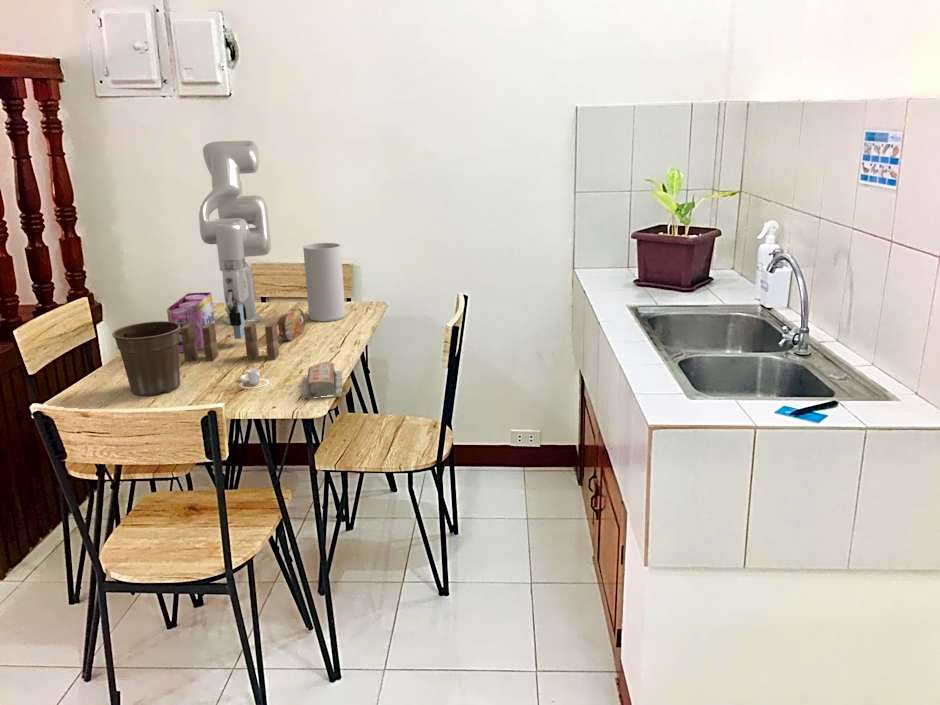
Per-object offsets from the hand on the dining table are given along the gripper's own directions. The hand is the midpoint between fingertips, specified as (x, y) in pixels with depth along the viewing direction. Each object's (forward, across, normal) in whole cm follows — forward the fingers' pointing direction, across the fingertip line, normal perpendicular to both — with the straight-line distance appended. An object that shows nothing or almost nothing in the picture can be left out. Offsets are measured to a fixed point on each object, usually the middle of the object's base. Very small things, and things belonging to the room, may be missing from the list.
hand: (238, 321), depth 243 cm
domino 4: (+7, -14, -7) cm, 17 cm away
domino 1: (+7, -14, +11) cm, 19 cm away
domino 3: (+5, 0, 0) cm, 5 cm away
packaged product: (+7, -41, -32) cm, 53 cm away
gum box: (+8, +4, +16) cm, 18 cm away
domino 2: (+7, -14, +5) cm, 16 cm away
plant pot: (+6, -40, +12) cm, 42 cm away
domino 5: (+7, -14, -13) cm, 20 cm away
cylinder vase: (+8, +32, -22) cm, 39 cm away
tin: (+8, +8, -14) cm, 18 cm away
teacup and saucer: (+7, -34, -14) cm, 38 cm away
